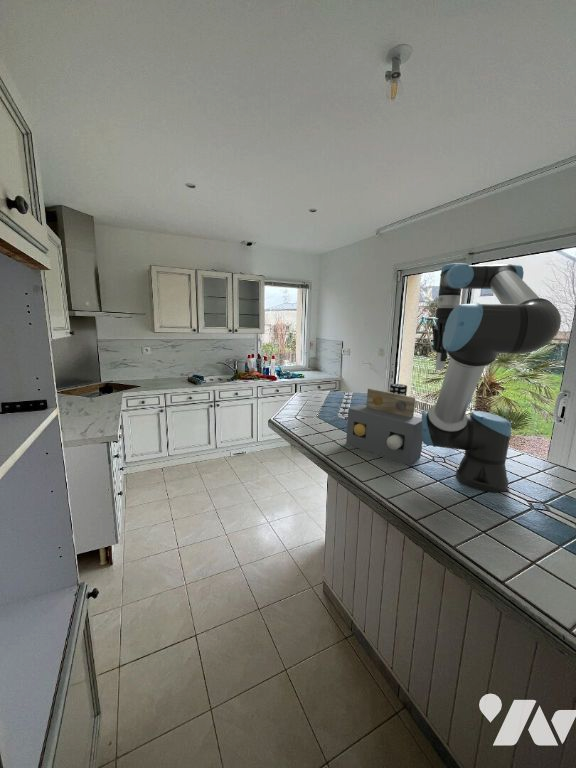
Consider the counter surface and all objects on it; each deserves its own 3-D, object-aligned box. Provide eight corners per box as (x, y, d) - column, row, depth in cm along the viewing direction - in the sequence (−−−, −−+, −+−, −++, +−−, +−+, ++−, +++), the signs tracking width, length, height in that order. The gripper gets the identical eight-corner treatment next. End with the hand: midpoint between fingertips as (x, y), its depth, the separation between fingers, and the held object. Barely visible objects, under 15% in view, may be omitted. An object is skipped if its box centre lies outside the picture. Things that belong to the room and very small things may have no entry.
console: (409, 465, 116) (414, 424, 113) (346, 443, 135) (348, 408, 132) (420, 457, 123) (425, 419, 120) (358, 438, 142) (361, 404, 139)
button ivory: (398, 451, 115) (400, 438, 114) (386, 447, 118) (387, 434, 117) (402, 448, 118) (404, 436, 117) (390, 444, 121) (391, 432, 120)
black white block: (404, 421, 167) (408, 385, 163) (401, 426, 160) (405, 387, 156) (389, 418, 171) (392, 383, 167) (384, 422, 164) (388, 385, 160)
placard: (411, 418, 120) (414, 398, 119) (365, 407, 134) (367, 388, 132) (413, 417, 121) (415, 397, 120) (367, 406, 135) (368, 388, 133)
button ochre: (363, 437, 128) (364, 425, 127) (353, 434, 131) (354, 422, 130) (368, 435, 130) (369, 424, 129) (357, 432, 133) (358, 421, 132)
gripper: (428, 307, 124) (421, 366, 128) (451, 306, 111) (442, 372, 116) (444, 308, 125) (437, 366, 130) (469, 307, 113) (460, 372, 117)
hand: (439, 369), depth 123 cm, fingers closed
